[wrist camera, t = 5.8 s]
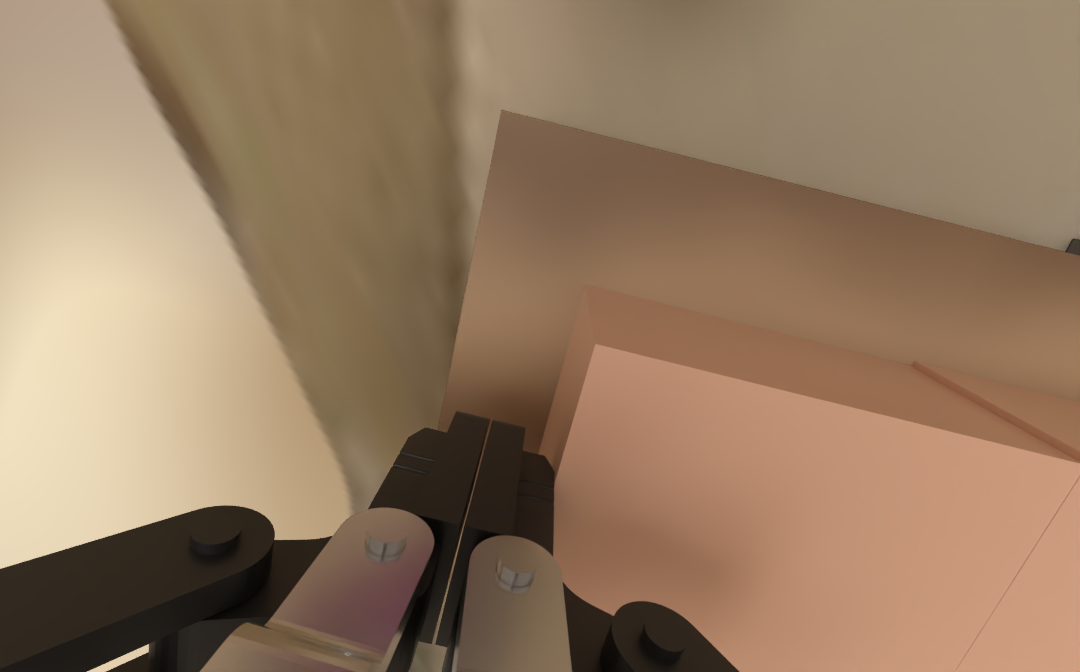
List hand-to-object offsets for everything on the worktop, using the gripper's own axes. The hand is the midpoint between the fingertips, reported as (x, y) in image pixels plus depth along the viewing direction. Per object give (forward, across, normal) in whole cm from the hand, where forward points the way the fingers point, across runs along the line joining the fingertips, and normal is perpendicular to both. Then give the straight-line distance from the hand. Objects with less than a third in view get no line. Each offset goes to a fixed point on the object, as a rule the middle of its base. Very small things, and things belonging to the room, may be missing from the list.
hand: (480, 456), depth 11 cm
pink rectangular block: (+4, -6, 0) cm, 7 cm away
